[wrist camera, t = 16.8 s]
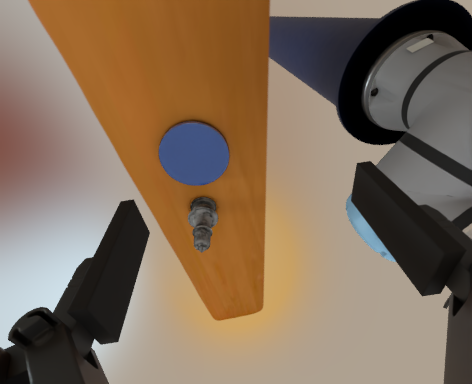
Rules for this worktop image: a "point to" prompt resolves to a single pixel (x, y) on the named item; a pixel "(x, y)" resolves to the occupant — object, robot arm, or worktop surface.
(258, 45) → the worktop surface
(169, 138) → the plate
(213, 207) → the grey tall tiered piece
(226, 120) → the worktop surface
